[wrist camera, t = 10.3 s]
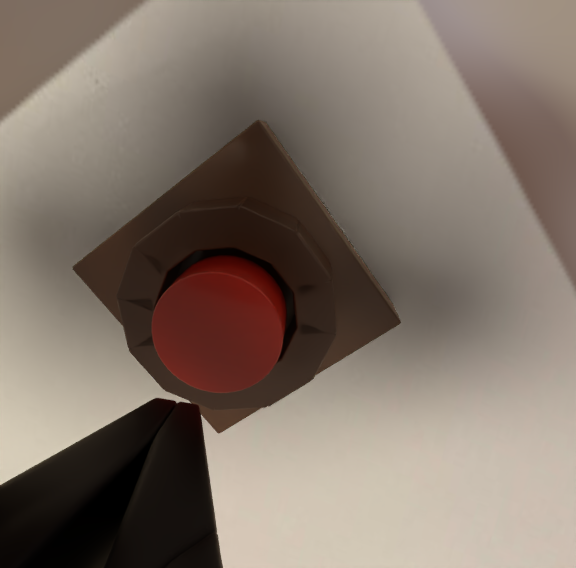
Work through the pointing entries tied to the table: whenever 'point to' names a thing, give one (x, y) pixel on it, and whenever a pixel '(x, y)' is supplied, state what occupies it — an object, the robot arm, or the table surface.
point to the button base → (252, 246)
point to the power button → (220, 324)
